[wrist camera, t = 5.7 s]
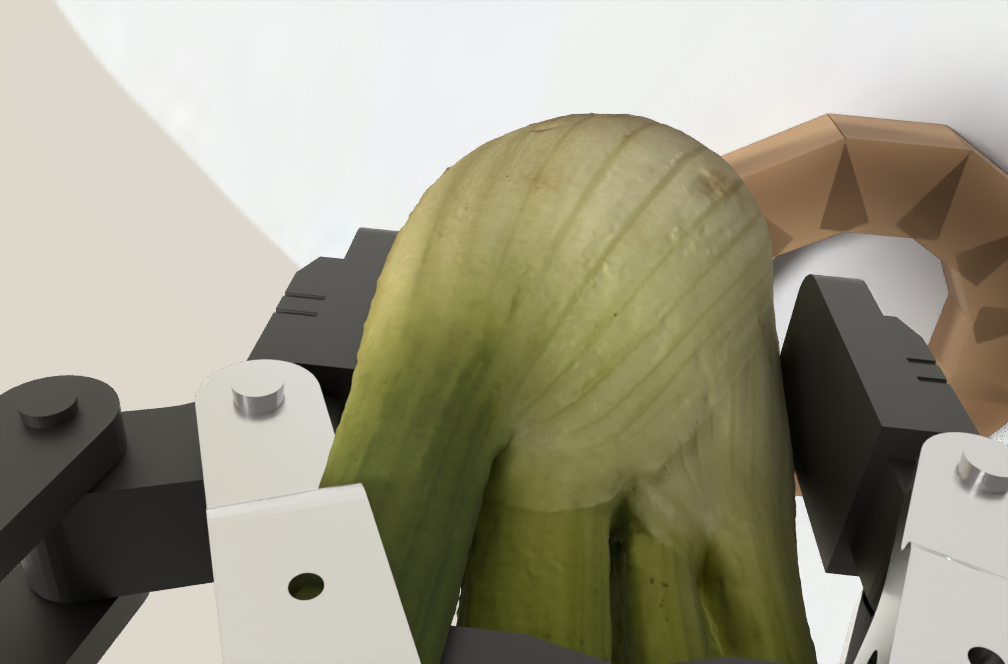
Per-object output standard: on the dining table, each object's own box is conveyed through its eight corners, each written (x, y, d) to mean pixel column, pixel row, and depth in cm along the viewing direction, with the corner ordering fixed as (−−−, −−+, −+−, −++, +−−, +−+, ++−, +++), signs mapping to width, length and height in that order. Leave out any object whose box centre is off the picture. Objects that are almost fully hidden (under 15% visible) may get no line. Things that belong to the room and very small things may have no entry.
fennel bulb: (401, 139, 15) (35, 877, 5) (671, -2, 14) (909, 655, 4) (556, 390, 18) (518, 1217, 8) (799, 294, 16) (1154, 1172, 6)
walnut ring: (1108, 140, 28) (1145, 167, 27) (955, 475, 36) (976, 514, 34) (666, 97, 29) (673, 121, 27) (606, 439, 36) (607, 476, 34)
